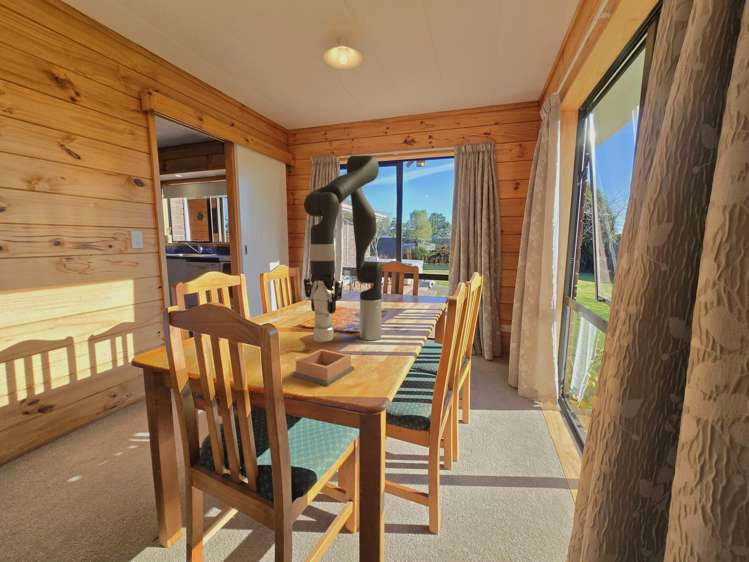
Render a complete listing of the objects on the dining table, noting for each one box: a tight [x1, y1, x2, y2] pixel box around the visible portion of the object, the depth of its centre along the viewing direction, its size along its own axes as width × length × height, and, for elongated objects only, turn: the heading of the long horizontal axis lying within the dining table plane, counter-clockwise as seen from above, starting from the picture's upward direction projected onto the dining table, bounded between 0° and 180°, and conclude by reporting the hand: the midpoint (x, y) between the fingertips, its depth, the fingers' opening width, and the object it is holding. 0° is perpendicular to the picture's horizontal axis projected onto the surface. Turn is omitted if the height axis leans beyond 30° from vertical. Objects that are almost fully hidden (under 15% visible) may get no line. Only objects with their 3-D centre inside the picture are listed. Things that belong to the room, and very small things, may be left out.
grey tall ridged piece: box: [312, 279, 335, 343], centre depth 104 cm, size 6×7×20 cm
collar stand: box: [292, 348, 355, 387], centre depth 107 cm, size 14×14×5 cm
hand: (323, 311), depth 104 cm, fingers closed on grey tall ridged piece, 6 cm apart
